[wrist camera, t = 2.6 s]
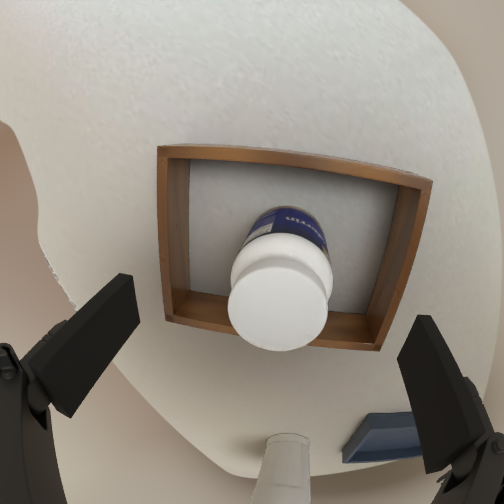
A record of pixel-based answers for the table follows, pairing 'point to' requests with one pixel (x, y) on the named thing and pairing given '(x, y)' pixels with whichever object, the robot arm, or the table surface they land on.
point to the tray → (384, 439)
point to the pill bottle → (281, 281)
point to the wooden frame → (410, 190)
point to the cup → (284, 472)
